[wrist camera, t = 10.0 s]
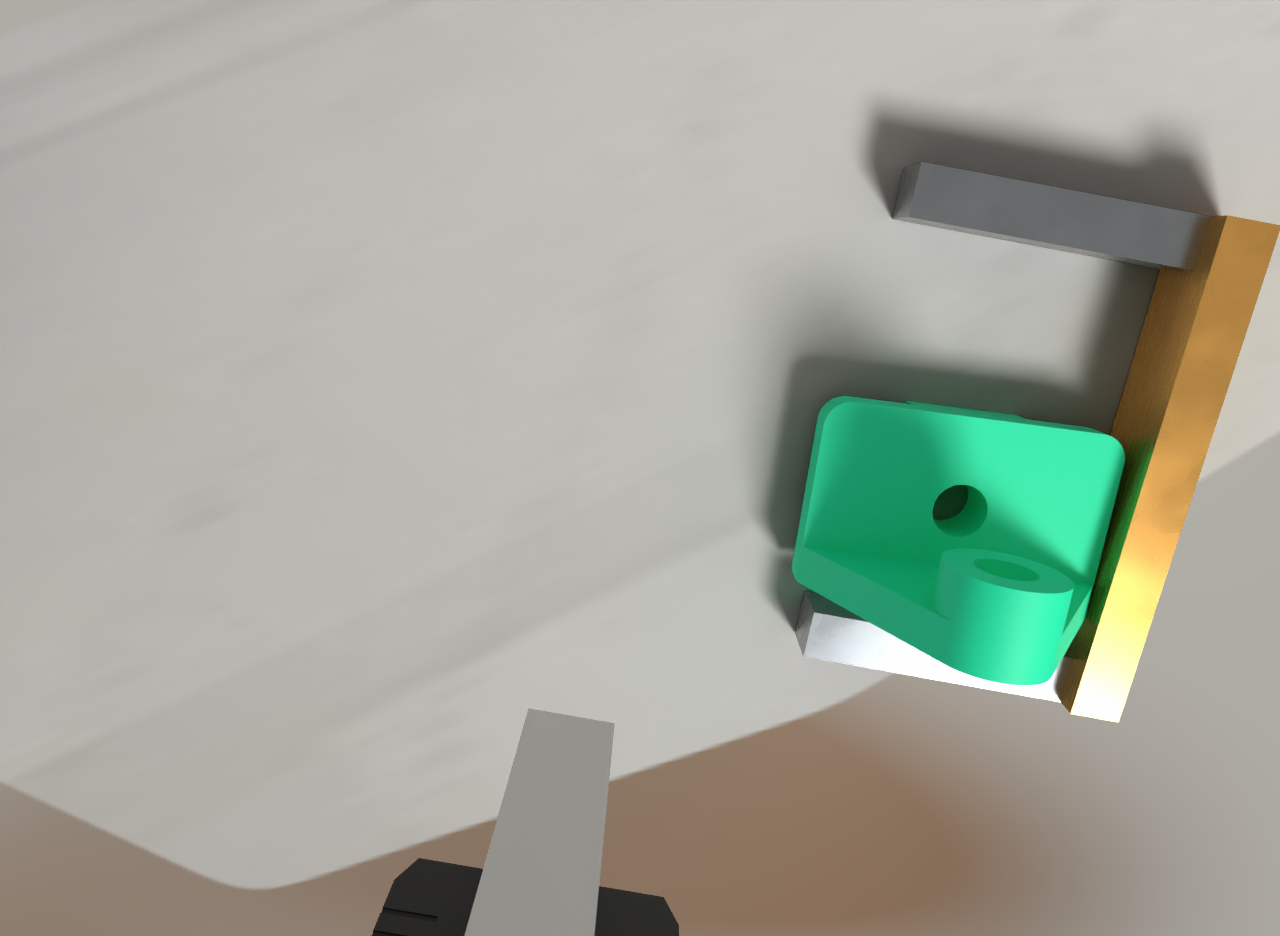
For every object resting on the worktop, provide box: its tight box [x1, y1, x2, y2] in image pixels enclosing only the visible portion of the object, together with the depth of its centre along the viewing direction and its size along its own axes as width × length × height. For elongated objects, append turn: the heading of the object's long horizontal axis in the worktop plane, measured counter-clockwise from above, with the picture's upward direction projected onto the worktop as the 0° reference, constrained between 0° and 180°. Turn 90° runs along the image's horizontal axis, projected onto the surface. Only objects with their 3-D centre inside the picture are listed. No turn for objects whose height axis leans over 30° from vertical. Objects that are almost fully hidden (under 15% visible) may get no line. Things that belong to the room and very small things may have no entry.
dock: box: [795, 162, 1280, 722], centre depth 38 cm, size 13×20×4 cm, turn 170°
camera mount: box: [791, 396, 1125, 686], centre depth 35 cm, size 12×8×10 cm, turn 83°
